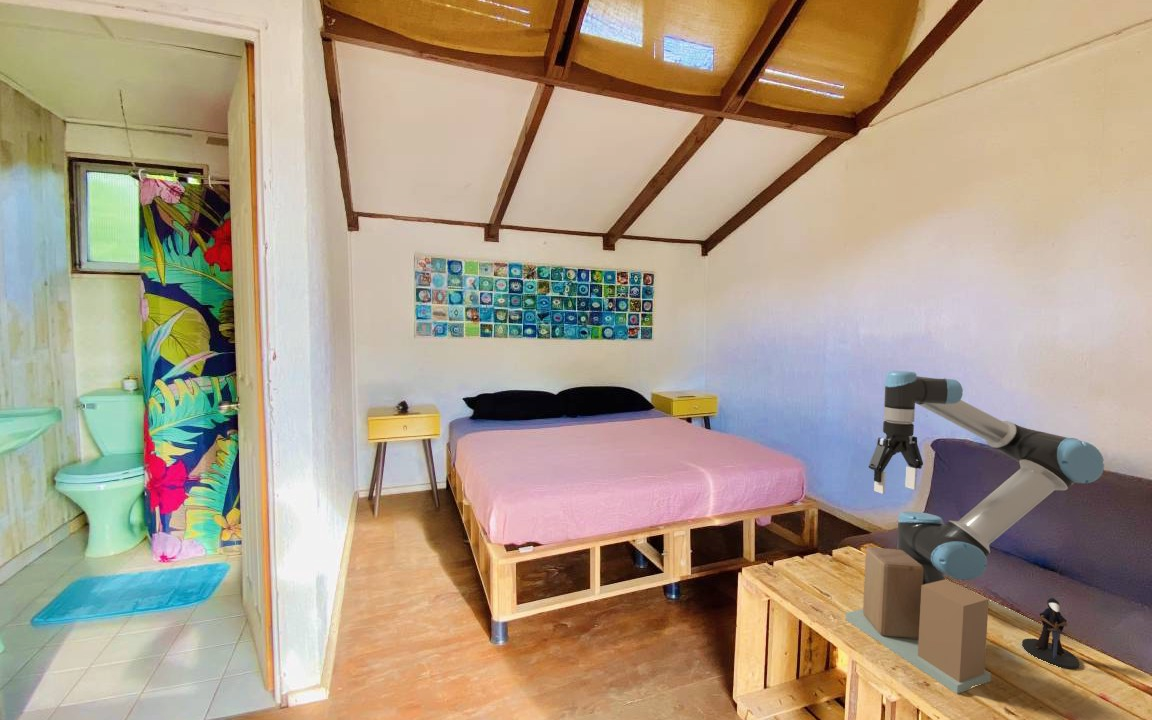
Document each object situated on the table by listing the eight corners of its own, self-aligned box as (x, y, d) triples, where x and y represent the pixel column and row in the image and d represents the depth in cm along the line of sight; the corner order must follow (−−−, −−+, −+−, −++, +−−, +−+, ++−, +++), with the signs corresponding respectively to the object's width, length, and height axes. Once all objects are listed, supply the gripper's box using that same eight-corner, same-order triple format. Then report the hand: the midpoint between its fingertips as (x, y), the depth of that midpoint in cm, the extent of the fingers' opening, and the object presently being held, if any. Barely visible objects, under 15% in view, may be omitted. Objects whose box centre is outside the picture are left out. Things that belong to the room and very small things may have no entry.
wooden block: (921, 641, 115) (925, 566, 114) (880, 636, 116) (883, 562, 115) (899, 617, 125) (902, 548, 124) (861, 613, 126) (864, 545, 125)
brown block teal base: (875, 612, 131) (878, 545, 130) (990, 681, 104) (995, 599, 103) (845, 619, 127) (848, 551, 126) (956, 694, 100) (961, 608, 99)
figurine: (1027, 658, 112) (1031, 600, 112) (1017, 636, 121) (1021, 583, 120) (1086, 675, 107) (1090, 615, 106) (1071, 652, 115) (1075, 596, 114)
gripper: (913, 417, 142) (910, 482, 143) (857, 421, 134) (853, 490, 135) (939, 422, 135) (935, 490, 136) (881, 425, 127) (877, 498, 127)
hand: (895, 490), depth 135 cm, fingers open, 13 cm apart
